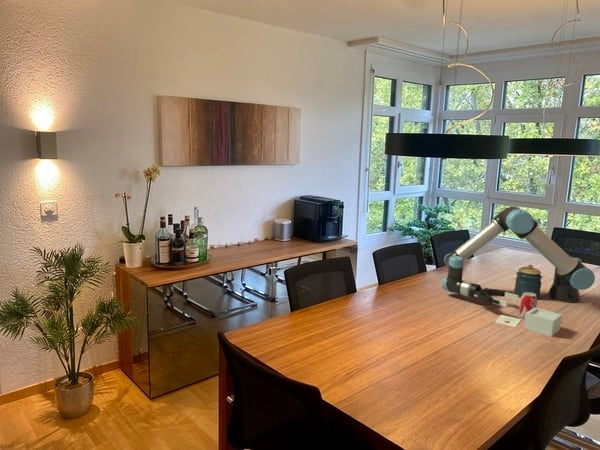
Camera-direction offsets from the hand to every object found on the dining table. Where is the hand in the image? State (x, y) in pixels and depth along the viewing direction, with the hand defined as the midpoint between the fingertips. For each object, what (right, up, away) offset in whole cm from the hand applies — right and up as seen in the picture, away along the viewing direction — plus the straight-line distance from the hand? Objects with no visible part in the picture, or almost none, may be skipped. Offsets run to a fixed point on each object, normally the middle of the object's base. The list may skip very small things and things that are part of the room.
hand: (512, 301), depth 225 cm
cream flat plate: (-6, -8, -9) cm, 14 cm away
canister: (+21, -2, +29) cm, 36 cm away
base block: (+5, -10, -17) cm, 20 cm away
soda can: (+5, -8, -4) cm, 10 cm away
